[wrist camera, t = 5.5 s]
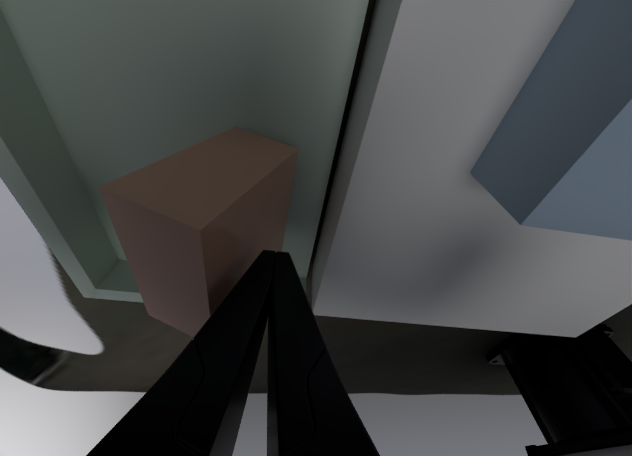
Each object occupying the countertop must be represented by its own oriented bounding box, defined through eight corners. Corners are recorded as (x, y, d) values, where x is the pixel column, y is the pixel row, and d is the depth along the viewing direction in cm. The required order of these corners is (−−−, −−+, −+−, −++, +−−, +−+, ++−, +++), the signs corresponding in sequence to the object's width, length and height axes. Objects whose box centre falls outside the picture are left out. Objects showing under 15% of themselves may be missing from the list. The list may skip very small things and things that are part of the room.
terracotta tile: (213, 347, 8) (148, 314, 9) (282, 250, 12) (235, 230, 12) (200, 230, 5) (98, 187, 5) (298, 148, 9) (234, 126, 9)
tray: (304, 278, 16) (303, 316, 14) (114, 259, 14) (83, 297, 13) (407, -190, 6) (456, -296, 4) (-202, -386, 4) (-605, -694, 2)
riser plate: (539, 292, 17) (575, 337, 14) (312, 268, 15) (311, 314, 13) (868, 20, 8) (1095, 24, 6) (402, -112, 6) (455, -185, 4)
